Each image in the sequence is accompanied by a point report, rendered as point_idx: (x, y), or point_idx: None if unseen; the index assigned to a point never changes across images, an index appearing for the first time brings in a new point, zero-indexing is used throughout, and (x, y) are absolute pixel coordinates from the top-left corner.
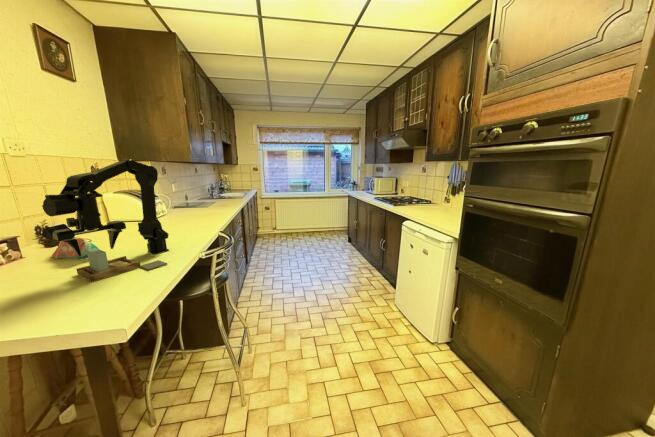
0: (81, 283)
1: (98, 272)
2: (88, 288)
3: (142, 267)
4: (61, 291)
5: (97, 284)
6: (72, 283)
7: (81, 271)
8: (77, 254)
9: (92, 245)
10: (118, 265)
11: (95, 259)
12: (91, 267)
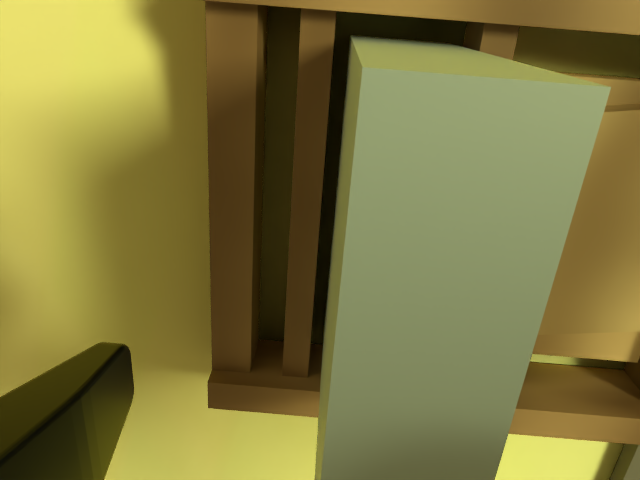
0: (167, 311)
1: (295, 393)
2: (170, 460)
3: (630, 452)
4: (21, 344)
5: (237, 445)
6: (114, 234)
7: (225, 99)
8: (68, 371)
9: None
10: (549, 305)
11: (321, 422)
12: (346, 97)
